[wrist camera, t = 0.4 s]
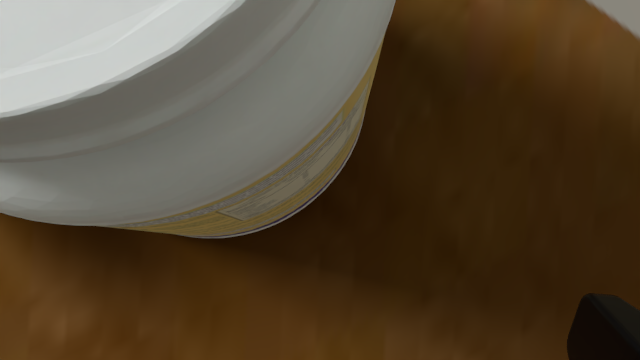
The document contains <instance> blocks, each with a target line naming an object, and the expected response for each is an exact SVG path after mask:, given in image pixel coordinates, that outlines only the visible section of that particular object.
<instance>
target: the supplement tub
mask: <svg viewBox="0 0 640 360" xmlns="http://www.w3.org/2000/svg"><path fill="white" fill-rule="evenodd" d="M395 1H396V0H0V213H4V214H7V215H11V216H15V217H19V218H23V219H27V220H32V221H38V222H45V223H52V224H61V225H74V226H101V227H111V228H120V229H130V230H140V231H149V232H159V233H168V234H177V235H181V236H187V237H194V238H227V237H234V236H240V235H246V234H249V233H253V232H257V231H260V230H263V229H266V228H268V227H271V226H273V225H275V224H278V223H280V222H282V221H284V220H286V219H287V218H289V217H291V216H293V215H294V214H296V213H297V212H299V211H300V210H302V209H303V208H305V207H306V206H307V205H309V204H310V203H311V202H312V201H314V200H315V199H316V198H317V197H318V196H319V195H320V194H321V193H322V192H323V191H324V190H325V189H326V188H327V187H328V186H329V185H330V184H331V183H332V181H333V180H334V179H335V178H336V177H337V175H338V174H339V173H340V171H341V170H342V168H343V167H344V165H345V164H346V162H347V160H348V159H349V157H350V155H351V153H352V151H353V149H354V147H355V144H356V142H357V140H358V136H359V133H360V130H361V127H362V123H363V119H364V115H365V109H366V105H367V102H368V98H369V94H370V90H371V87H372V83H373V79H374V76H375V72H376V68H377V64H378V60H379V56H380V52H381V48H382V44H383V40H384V36H385V32H386V29H387V26H388V24H389V21H390V18H391V15H392V12H393V8H394V5H395Z"/></svg>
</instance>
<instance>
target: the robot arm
mask: <svg viewBox="0 0 640 360" xmlns="http://www.w3.org/2000/svg"><path fill="white" fill-rule="evenodd" d="M567 352H568V357H569V360H640V311H639V310H638V309H636V308H634V307H633V306H631V305H630V304H628V303H627V302H625V301H624V300H622V299H621V298H619V297H617V296H614V295H605V294H593V293H589V294H586V295H585V296H583V298H582V299H581V301H580V303H579V306H578V309H577V312H576V315H575V318H574V320H573V323H572V326H571V329H570V332H569V335H568V339H567Z"/></svg>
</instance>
